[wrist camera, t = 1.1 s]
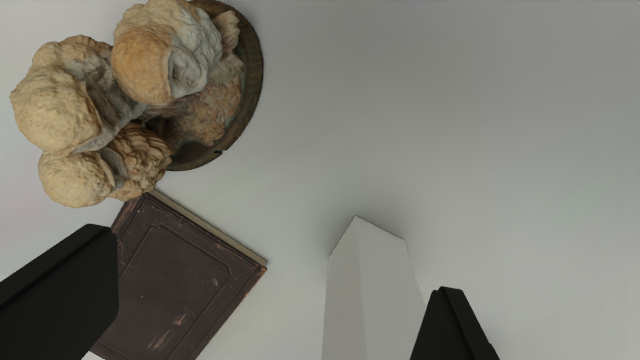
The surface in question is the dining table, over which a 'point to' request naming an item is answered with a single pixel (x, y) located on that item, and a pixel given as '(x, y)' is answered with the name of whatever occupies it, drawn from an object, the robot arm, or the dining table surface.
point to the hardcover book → (173, 281)
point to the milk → (370, 297)
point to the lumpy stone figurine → (139, 99)
